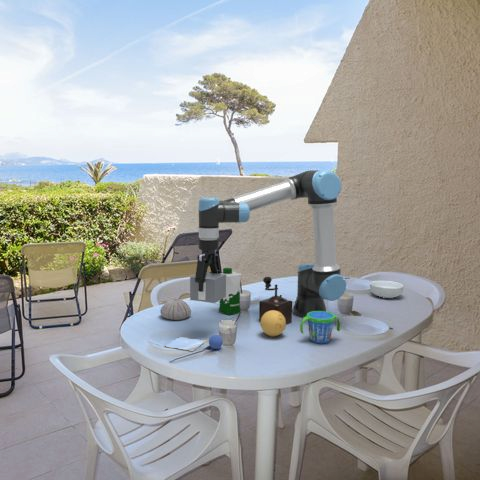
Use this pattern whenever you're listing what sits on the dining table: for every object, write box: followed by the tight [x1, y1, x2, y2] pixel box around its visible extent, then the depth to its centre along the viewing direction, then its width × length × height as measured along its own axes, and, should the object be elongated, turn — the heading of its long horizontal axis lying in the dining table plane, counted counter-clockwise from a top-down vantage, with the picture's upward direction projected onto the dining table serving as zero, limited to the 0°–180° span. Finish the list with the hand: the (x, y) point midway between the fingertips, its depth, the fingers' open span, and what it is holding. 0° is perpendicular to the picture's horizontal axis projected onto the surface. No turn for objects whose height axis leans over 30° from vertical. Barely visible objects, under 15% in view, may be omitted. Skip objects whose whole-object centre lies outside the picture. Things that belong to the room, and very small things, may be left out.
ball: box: [208, 334, 224, 350], centre depth 159 cm, size 5×5×5 cm
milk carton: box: [218, 267, 243, 316], centre depth 202 cm, size 9×9×20 cm
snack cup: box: [299, 311, 342, 344], centre depth 168 cm, size 16×10×10 cm
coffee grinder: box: [258, 276, 293, 325], centre depth 191 cm, size 16×11×18 cm
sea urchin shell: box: [159, 298, 192, 321], centre depth 194 cm, size 13×14×8 cm
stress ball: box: [259, 310, 287, 338], centre depth 172 cm, size 10×10×10 cm
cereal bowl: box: [369, 280, 404, 299], centre depth 234 cm, size 17×17×7 cm
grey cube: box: [189, 272, 226, 304], centre depth 170 cm, size 10×10×9 cm
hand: (208, 296), depth 170 cm, fingers closed on grey cube, 10 cm apart
